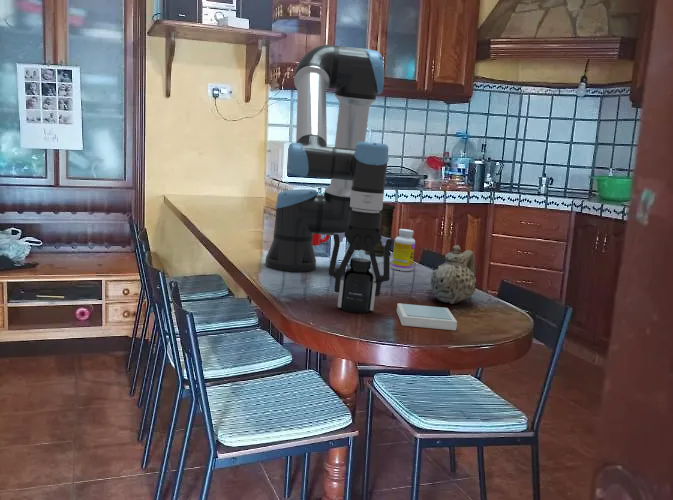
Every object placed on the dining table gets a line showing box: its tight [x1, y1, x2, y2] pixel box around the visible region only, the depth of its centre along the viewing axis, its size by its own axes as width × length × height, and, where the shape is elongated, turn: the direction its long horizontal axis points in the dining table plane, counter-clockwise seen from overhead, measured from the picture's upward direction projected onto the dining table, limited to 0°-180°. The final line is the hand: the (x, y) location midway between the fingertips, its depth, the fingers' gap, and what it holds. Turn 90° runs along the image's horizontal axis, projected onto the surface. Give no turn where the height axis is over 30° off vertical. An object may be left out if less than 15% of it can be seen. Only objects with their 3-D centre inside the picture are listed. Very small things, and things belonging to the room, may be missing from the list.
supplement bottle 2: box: [391, 228, 416, 272], centre depth 209 cm, size 7×7×13 cm
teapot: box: [430, 244, 477, 305], centre depth 171 cm, size 21×12×15 cm, turn 148°
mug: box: [312, 234, 331, 246], centre depth 244 cm, size 8×12×8 cm, turn 116°
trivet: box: [396, 302, 458, 331], centre depth 150 cm, size 12×12×2 cm
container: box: [364, 203, 396, 257], centre depth 233 cm, size 9×9×18 cm
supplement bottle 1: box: [341, 257, 374, 314], centre depth 153 cm, size 7×7×12 cm
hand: (355, 307), depth 154 cm, fingers closed on supplement bottle 1, 7 cm apart
